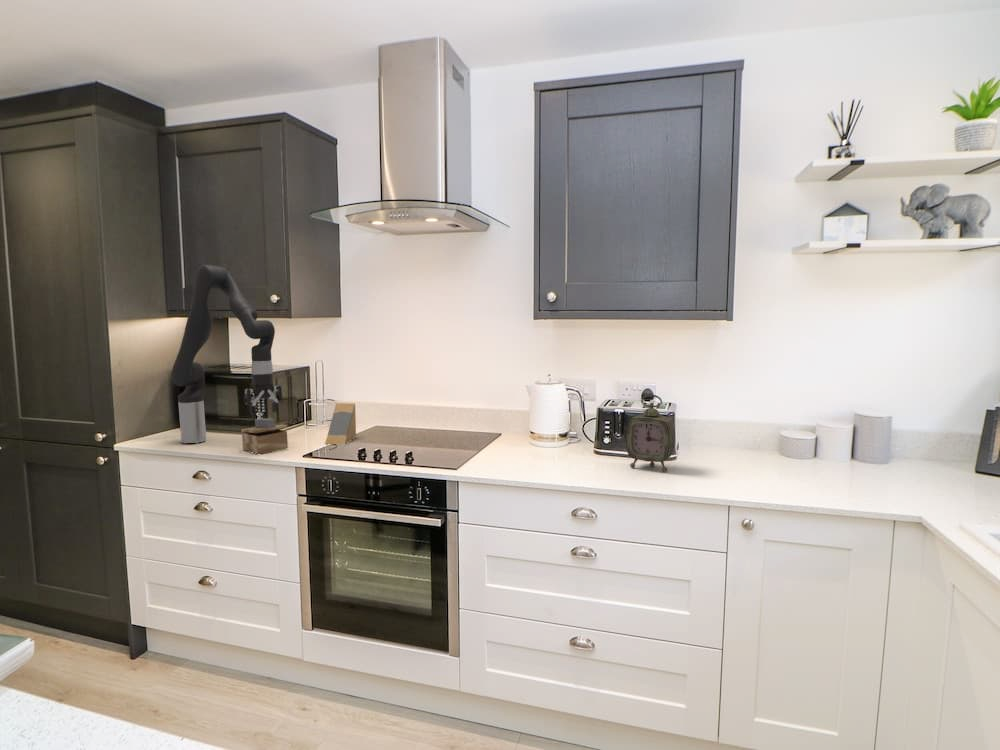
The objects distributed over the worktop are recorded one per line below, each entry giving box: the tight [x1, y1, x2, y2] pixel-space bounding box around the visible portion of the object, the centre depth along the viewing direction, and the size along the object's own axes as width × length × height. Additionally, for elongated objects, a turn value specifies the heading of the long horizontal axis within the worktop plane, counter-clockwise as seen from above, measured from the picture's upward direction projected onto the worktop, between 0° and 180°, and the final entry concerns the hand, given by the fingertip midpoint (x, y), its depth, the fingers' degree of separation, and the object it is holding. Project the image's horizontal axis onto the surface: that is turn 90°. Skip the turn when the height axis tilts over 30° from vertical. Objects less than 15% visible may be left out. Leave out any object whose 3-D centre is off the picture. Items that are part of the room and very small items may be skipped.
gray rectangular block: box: [254, 417, 276, 428], centre depth 223 cm, size 10×3×3 cm, turn 50°
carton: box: [241, 429, 289, 455], centre depth 224 cm, size 12×12×7 cm
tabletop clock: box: [625, 394, 676, 473], centre depth 191 cm, size 14×9×25 cm, turn 59°
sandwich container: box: [324, 402, 357, 445], centre depth 236 cm, size 9×15×15 cm, turn 176°
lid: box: [240, 424, 288, 433], centre depth 223 cm, size 12×12×1 cm
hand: (264, 413), depth 222 cm, fingers open, 8 cm apart
